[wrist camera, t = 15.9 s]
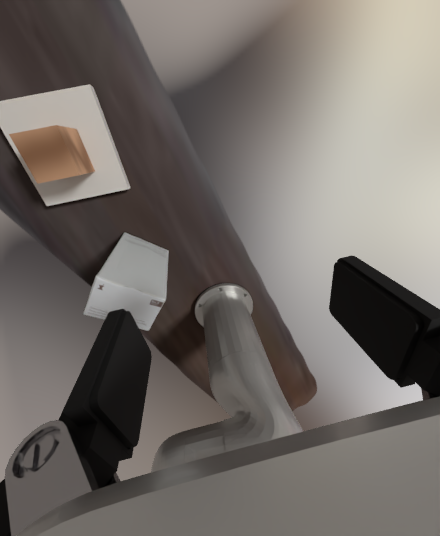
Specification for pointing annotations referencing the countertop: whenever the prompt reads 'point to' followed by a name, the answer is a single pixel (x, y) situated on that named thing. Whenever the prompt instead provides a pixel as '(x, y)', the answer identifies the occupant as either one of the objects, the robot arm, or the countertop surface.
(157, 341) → the countertop surface
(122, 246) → the skincare box
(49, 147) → the wooden cube
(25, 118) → the chopping board
